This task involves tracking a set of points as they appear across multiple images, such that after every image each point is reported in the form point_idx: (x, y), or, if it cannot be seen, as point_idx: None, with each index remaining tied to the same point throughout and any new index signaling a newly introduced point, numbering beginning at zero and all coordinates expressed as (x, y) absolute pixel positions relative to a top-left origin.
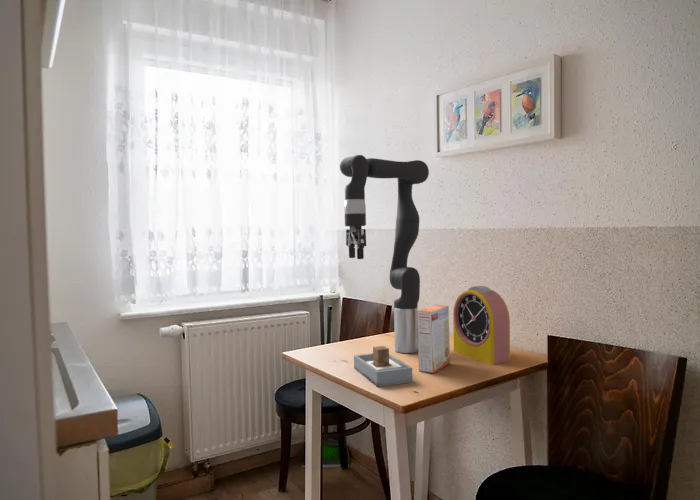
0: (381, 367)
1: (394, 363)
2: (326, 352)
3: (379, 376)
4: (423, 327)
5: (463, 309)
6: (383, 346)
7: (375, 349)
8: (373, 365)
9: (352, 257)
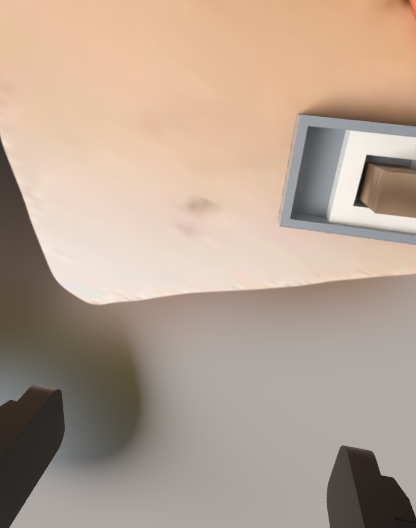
0: None
1: (406, 143)
2: (96, 213)
3: None
4: None
5: None
6: (392, 177)
7: (397, 215)
8: None
9: (58, 414)
